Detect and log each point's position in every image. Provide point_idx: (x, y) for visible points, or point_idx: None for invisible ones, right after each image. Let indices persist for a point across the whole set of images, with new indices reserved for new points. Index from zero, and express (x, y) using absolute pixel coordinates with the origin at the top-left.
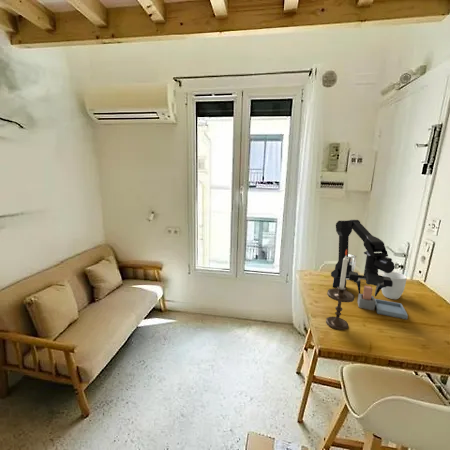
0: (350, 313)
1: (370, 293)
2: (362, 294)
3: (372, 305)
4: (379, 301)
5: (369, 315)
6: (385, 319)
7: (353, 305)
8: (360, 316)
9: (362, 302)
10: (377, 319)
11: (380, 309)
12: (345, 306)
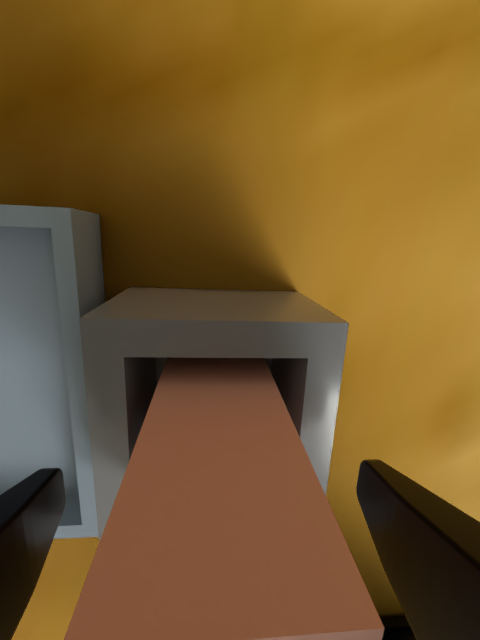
0: (422, 107)
1: (160, 473)
2: None
3: (141, 300)
4: None
5: (197, 146)
6: (3, 107)
7: None
8: (316, 66)
9: (286, 310)
10: (108, 62)
11: (44, 324)
12: (435, 279)
